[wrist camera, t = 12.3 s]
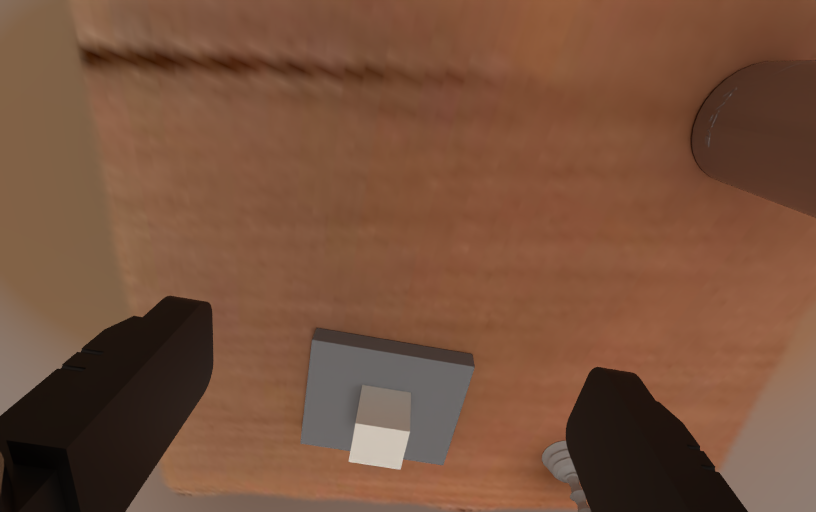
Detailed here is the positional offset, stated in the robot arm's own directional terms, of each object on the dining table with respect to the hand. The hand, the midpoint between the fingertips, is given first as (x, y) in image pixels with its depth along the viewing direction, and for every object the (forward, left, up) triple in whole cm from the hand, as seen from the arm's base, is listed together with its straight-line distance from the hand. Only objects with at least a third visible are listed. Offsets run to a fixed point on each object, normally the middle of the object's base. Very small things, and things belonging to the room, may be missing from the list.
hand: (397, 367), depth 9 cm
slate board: (-2, +27, -28) cm, 38 cm away
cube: (-2, +26, -26) cm, 37 cm away
